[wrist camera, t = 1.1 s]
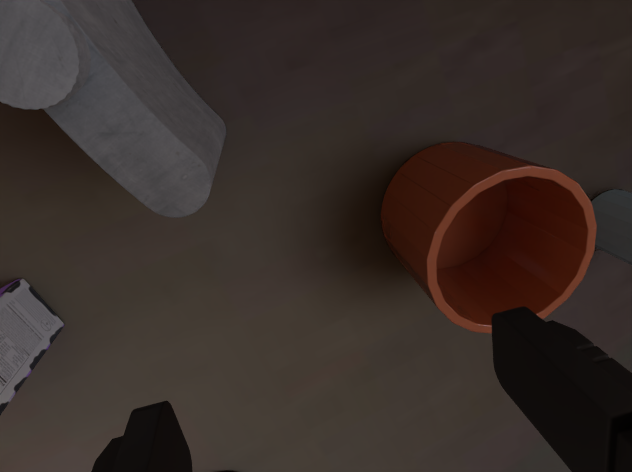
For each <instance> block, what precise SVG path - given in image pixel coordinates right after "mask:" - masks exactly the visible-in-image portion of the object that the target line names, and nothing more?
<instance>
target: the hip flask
mask: <svg viewBox="0 0 632 472" xmlns="http://www.w3.org/2000/svg"><path fill="white" fill-rule="evenodd" d="M0 102H2V103H5V104H9V105H10V106H12V107H18V108H22V109H25V110H26V109H34V110H37V109H40V108H41V109H44V111H45V112H46V113H47V114H48V115H49V116H50V117H51V118H52V119H53V120H54V121H55V122H56V123H57V125H58V126H59V127H60V128H61V129H62V130H63V131H64V132H65V133H66V134H67V135H68V136H69V137H70V138H71V139H72V140H73V141H74V142H75V143H76V144H77V145H78V146H79V147H80V148H81V149H82V150H83V151H84V152H85V153H86V154H87V155H88V156H89V157H90V158H92V159H93V160H94V161H95V162H96V163H97V164H98V165H99V166H100V167H101V168H102V169H103V170H104V171H105V172H106V173H108V174H109V175H110V176H111V177H112V178H113V179H114V180H116V181H117V182H118V183H119V184H120V185H121V186H122V187H124V188H125V189H126V190H127V191H128V192H129V193H131V194H132V195H133V196H134V197H136V198H137V199H138V200H139V201H140V202H142V203H143V204H144V205H145V206H147V207H148V208H149V209H151V210H152V211H154V212H155V213H157V214H160V215H162V216H166V217H174V218H178V217H185V216H188V215H191V214H193V213H194V212H196V211H197V210H199V209H200V208H201V207H202V206H203V205H204V203H205V202H206V200H207V198H208V196H209V193H210V190H211V186H212V183H213V179H214V176H215V172H216V169H217V165H218V162H219V158H220V155H221V151H222V148H223V144H224V140H225V137H226V127H225V124H224V122H223V120H222V119H221V118H220V117H219V116H218V115H217V114H216V113H215V112H214V111H213V110H212V109H211V108H210V107H209V106H208V105H207V104H206V103H205V102H204V101H203V100H202V99H201V98H200V96H199V95H198V94H197V93H196V92H195V91H194V90H193V89H192V87H191V86H190V85H189V84H188V83H187V81H186V80H185V79H184V78H183V77H182V75H181V74H180V73H179V71H178V70H177V69H176V67H175V66H174V65H173V63H172V62H171V61H170V59H169V58H168V56H167V55H166V54H165V52H164V51H163V49H162V48H161V47H160V45H159V44H158V42H157V41H156V39H155V38H154V36H153V35H152V33H151V32H150V30H149V29H148V27H147V26H146V24H145V22H144V21H143V19H142V17H141V16H140V14H139V12H138V11H137V9H136V7H135V5H134V4H133V2H132V0H0Z"/></svg>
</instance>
